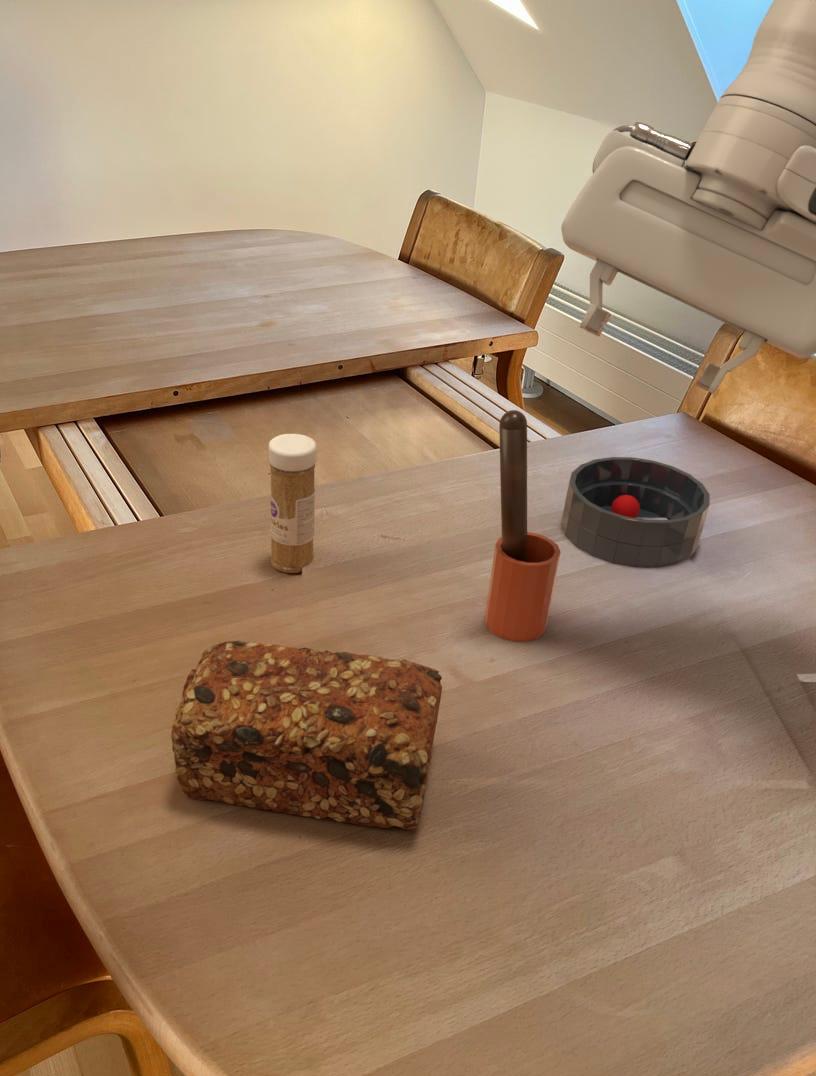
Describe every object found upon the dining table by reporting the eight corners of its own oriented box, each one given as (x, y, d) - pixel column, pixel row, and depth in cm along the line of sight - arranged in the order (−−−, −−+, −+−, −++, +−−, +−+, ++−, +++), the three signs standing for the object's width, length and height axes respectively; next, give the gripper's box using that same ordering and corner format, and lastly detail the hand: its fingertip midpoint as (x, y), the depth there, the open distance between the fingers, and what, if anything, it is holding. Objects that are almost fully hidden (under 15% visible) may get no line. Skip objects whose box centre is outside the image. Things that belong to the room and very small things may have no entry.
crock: (538, 612, 93) (553, 532, 88) (549, 648, 89) (565, 565, 83) (480, 612, 93) (491, 531, 87) (488, 647, 88) (500, 565, 83)
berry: (632, 514, 107) (638, 490, 106) (639, 528, 105) (645, 503, 103) (605, 513, 107) (611, 489, 106) (612, 527, 105) (617, 503, 103)
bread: (437, 746, 78) (448, 648, 72) (418, 846, 70) (430, 745, 64) (215, 710, 81) (208, 613, 75) (171, 802, 72) (160, 701, 66)
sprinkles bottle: (261, 561, 99) (258, 440, 91) (295, 546, 101) (295, 427, 93) (289, 580, 96) (289, 457, 88) (324, 564, 99) (326, 443, 91)
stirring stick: (525, 614, 91) (524, 404, 78) (529, 628, 89) (529, 415, 76) (501, 617, 91) (497, 407, 78) (505, 631, 89) (501, 418, 77)
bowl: (673, 505, 110) (686, 457, 107) (713, 574, 99) (729, 523, 95) (549, 503, 110) (558, 455, 106) (575, 572, 99) (586, 521, 95)
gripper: (613, 98, 66) (514, 293, 71) (902, 223, 61) (775, 423, 66) (622, 124, 71) (530, 304, 76) (887, 241, 67) (771, 424, 72)
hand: (645, 360), depth 71 cm, fingers open, 8 cm apart
